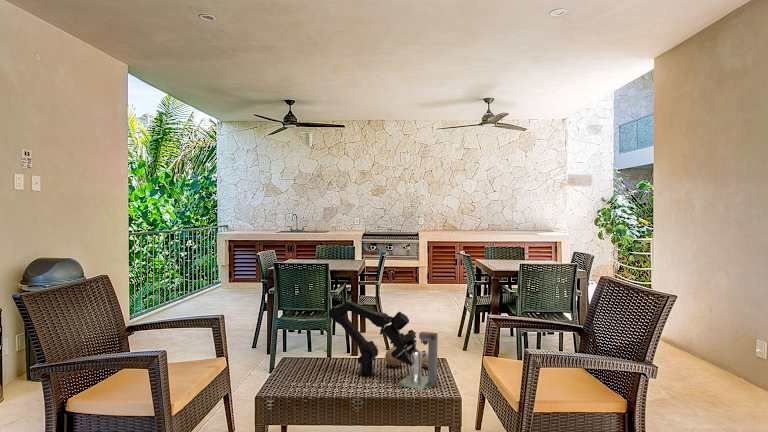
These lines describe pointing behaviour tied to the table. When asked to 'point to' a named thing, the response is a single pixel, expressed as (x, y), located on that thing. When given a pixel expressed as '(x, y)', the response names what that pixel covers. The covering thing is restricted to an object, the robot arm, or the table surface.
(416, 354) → the cocktail shaker
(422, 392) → the table surface
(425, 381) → the press
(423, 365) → the ceramic sculpture
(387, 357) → the natural sponge
